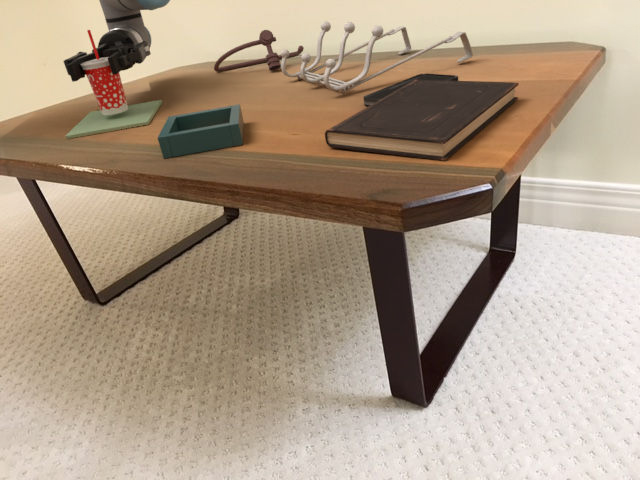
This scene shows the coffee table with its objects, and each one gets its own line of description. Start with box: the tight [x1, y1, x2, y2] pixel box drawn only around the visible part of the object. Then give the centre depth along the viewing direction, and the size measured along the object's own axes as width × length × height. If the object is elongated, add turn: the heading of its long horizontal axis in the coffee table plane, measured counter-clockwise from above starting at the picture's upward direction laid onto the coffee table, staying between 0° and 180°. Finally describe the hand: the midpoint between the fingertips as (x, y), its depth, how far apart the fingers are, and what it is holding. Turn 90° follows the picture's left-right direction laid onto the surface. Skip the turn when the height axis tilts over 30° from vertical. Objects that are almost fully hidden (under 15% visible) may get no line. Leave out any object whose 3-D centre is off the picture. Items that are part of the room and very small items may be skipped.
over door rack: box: [280, 20, 474, 94], centre depth 99 cm, size 22×29×10 cm
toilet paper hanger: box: [213, 29, 305, 73], centre depth 122 cm, size 22×8×14 cm
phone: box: [363, 73, 459, 107], centre depth 84 cm, size 8×1×15 cm
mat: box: [64, 99, 163, 140], centre depth 98 cm, size 14×16×1 cm
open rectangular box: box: [157, 103, 245, 160], centre depth 78 cm, size 11×11×3 cm
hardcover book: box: [324, 80, 520, 162], centre depth 70 cm, size 16×23×2 cm
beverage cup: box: [81, 29, 129, 115], centre depth 94 cm, size 6×6×14 cm
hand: (92, 69), depth 89 cm, fingers closed on beverage cup, 6 cm apart
